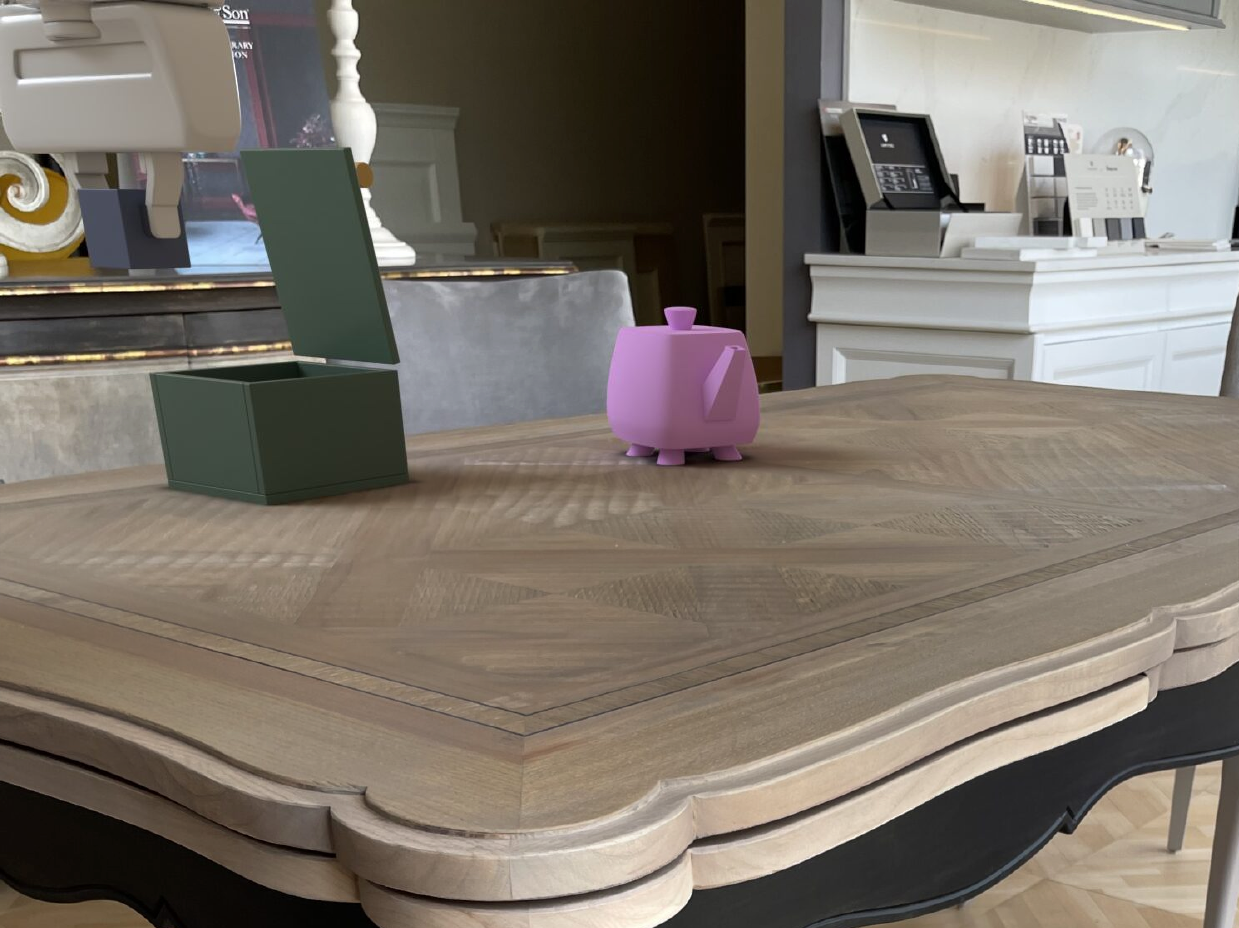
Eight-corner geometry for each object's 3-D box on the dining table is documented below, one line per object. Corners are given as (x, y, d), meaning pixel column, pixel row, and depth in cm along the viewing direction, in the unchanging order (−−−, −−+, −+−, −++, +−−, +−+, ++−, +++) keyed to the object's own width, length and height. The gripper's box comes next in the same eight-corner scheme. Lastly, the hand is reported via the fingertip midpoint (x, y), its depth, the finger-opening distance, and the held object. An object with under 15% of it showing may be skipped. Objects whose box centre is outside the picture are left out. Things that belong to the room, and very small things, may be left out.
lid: (343, 148, 118) (396, 136, 121) (238, 149, 124) (291, 138, 128) (393, 365, 127) (441, 348, 131) (293, 355, 134) (341, 340, 137)
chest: (267, 506, 122) (249, 383, 117) (169, 489, 128) (148, 372, 124) (410, 483, 132) (398, 369, 128) (312, 468, 138) (298, 360, 134)
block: (131, 269, 98) (117, 189, 96) (90, 267, 100) (76, 188, 98) (192, 267, 101) (179, 189, 99) (151, 265, 103) (138, 189, 101)
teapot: (578, 448, 151) (570, 302, 145) (691, 440, 157) (688, 299, 151) (678, 477, 136) (674, 316, 130) (798, 467, 142) (800, 312, 136)
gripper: (-54, -21, 96) (-1, 234, 103) (144, -44, 85) (189, 241, 92) (42, -11, 100) (87, 233, 107) (241, -31, 90) (277, 240, 97)
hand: (136, 237), depth 100 cm, fingers closed on block, 4 cm apart
